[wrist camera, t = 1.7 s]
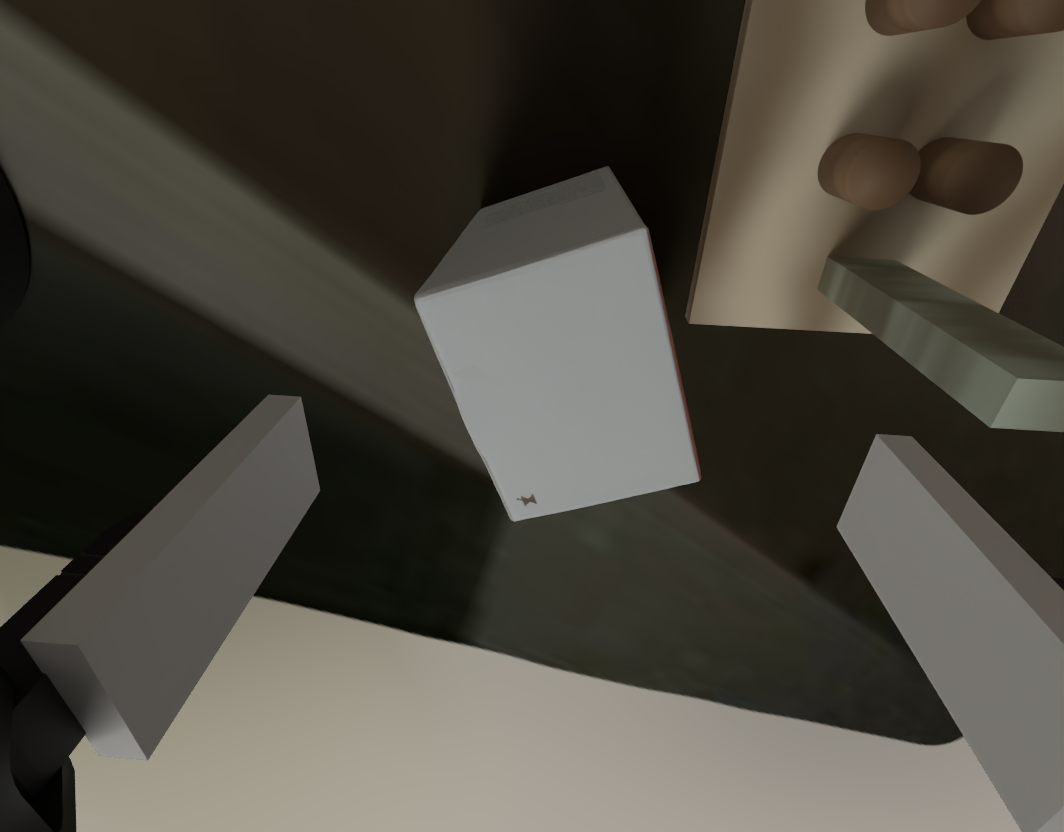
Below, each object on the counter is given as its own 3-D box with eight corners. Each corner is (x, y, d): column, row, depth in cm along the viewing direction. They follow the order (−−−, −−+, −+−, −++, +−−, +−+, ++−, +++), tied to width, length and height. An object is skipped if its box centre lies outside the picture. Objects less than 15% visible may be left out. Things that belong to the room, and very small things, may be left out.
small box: (650, 326, 28) (705, 487, 16) (531, 359, 29) (508, 529, 18) (611, 159, 24) (649, 221, 13) (476, 206, 25) (403, 299, 14)
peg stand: (685, 316, 27) (767, 473, 16) (803, -299, 17) (1266, -1062, 6) (971, 331, 27) (1260, 504, 16) (1272, -289, 16) (2755, -1083, 5)
